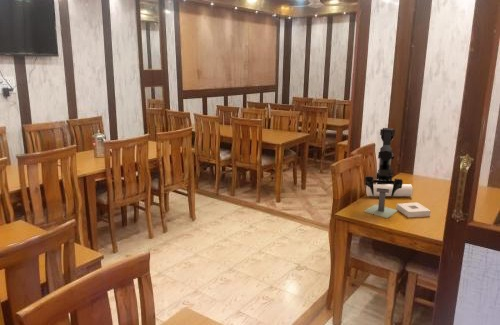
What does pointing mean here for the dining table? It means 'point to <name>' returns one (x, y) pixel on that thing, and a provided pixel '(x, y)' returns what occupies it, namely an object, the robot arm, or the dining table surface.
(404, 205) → the socket block
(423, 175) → the dining table surface
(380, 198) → the t key
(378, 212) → the pad
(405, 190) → the cylindrical container
